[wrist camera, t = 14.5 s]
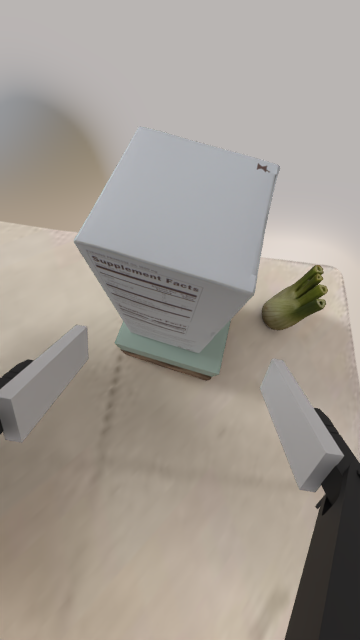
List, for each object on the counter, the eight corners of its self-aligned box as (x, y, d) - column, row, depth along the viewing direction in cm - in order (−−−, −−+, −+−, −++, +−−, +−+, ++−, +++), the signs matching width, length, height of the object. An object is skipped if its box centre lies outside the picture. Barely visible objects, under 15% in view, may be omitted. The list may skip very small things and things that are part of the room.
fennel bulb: (277, 338, 34) (331, 311, 23) (251, 321, 35) (291, 288, 24) (291, 312, 36) (348, 275, 25) (266, 296, 37) (311, 254, 26)
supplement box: (153, 269, 29) (138, 118, 13) (217, 288, 28) (284, 157, 12) (127, 334, 26) (65, 239, 10) (200, 356, 25) (258, 296, 9)
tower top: (121, 349, 29) (114, 343, 25) (151, 271, 33) (149, 256, 29) (211, 376, 28) (218, 374, 25) (230, 294, 33) (239, 281, 29)
